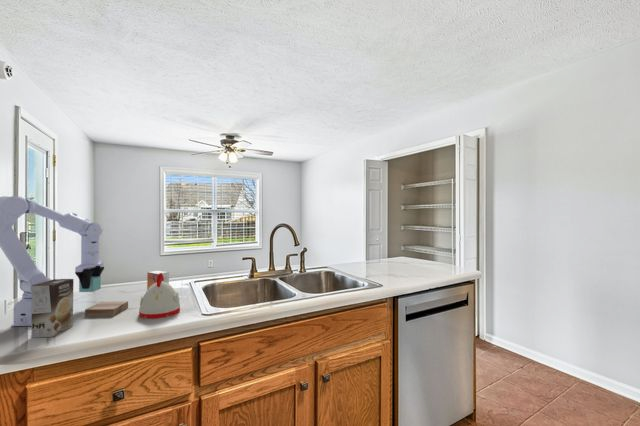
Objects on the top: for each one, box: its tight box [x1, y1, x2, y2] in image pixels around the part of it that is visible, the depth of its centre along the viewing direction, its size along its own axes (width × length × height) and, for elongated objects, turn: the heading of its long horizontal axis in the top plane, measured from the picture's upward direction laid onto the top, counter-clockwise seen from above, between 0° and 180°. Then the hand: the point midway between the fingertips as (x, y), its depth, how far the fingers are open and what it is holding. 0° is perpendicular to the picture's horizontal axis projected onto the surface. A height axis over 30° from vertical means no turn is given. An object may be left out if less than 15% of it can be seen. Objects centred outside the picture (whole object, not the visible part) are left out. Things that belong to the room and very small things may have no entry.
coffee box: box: [30, 278, 74, 338], centre depth 99 cm, size 9×6×16 cm
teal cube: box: [78, 275, 102, 293], centre depth 123 cm, size 5×5×5 cm
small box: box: [146, 270, 170, 291], centre depth 143 cm, size 8×6×10 cm
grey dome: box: [138, 273, 181, 320], centre depth 119 cm, size 14×14×15 cm
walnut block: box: [84, 300, 129, 318], centre depth 119 cm, size 10×10×3 cm
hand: (90, 286), depth 123 cm, fingers closed on teal cube, 5 cm apart
